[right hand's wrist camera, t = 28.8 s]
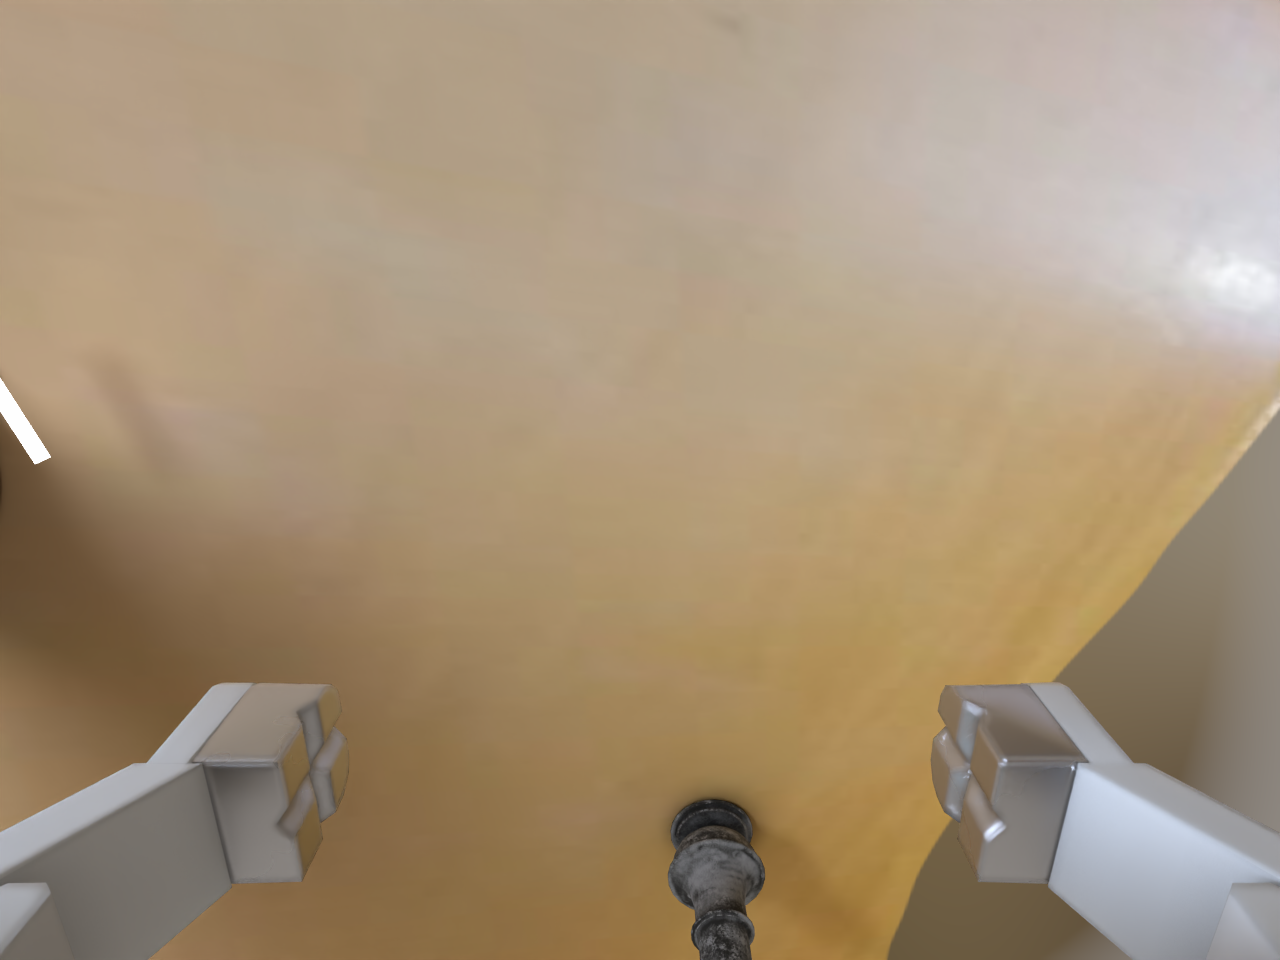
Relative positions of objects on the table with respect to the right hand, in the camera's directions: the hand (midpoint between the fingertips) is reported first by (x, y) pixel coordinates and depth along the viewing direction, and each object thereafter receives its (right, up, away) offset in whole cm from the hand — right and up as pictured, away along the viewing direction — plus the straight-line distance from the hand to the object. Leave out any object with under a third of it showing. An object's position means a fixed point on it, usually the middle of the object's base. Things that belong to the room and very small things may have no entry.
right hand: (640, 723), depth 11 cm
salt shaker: (+5, -19, +40) cm, 45 cm away
